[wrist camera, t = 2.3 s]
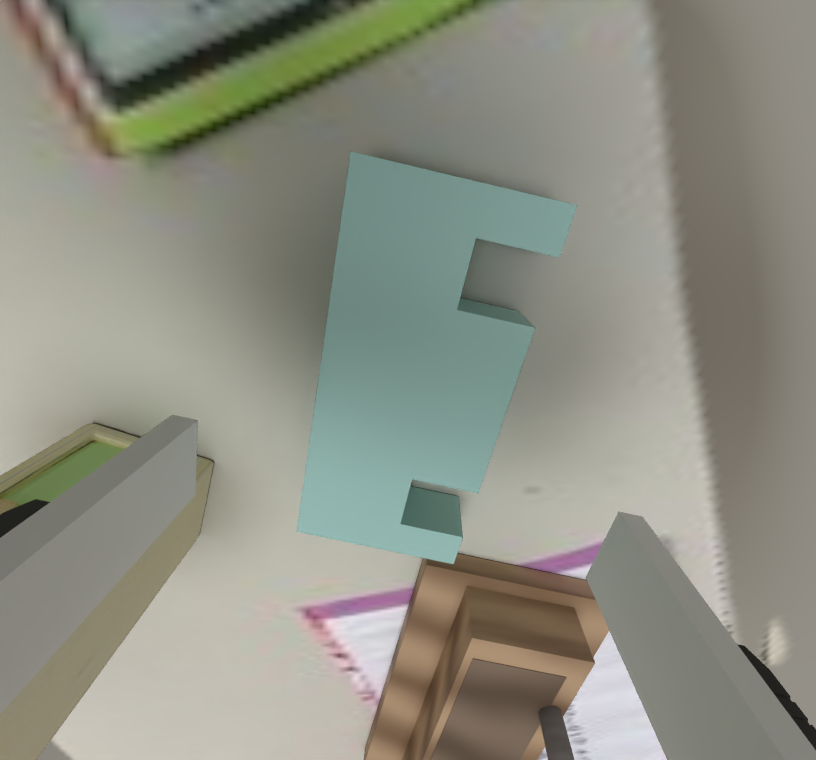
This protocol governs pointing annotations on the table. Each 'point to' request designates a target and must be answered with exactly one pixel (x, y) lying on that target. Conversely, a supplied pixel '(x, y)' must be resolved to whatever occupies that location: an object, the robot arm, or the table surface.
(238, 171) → the table surface
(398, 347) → the mint green notched block
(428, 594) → the brown piece
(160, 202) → the table surface
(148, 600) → the toy refrigerator
